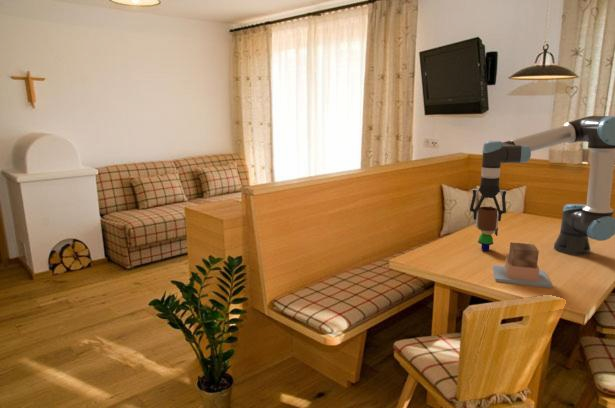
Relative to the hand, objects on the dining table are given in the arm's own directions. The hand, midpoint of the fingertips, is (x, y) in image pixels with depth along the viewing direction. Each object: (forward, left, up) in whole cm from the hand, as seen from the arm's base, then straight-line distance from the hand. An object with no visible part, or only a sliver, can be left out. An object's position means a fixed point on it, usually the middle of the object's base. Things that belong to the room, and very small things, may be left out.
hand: (486, 227), depth 191 cm
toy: (-2, -17, -16) cm, 23 cm away
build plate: (-14, +16, -16) cm, 26 cm away
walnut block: (-14, +16, -10) cm, 23 cm away
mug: (-1, 0, -1) cm, 1 cm away
